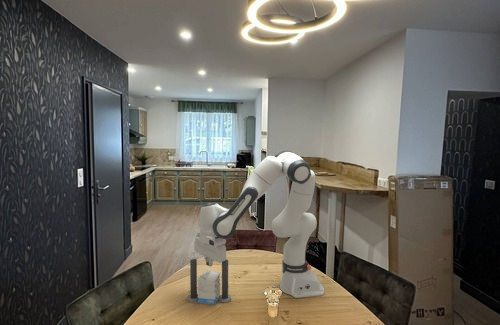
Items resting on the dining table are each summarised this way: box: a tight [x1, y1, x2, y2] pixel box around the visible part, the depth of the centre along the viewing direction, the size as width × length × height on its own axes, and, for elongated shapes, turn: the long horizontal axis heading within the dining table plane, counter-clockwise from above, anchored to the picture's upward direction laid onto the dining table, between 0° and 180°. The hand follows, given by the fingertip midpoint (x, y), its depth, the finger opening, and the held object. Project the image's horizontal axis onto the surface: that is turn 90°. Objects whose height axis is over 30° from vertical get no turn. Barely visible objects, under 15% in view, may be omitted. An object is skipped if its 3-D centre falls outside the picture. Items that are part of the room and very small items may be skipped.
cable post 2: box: [218, 258, 232, 304], centre depth 130 cm, size 6×6×19 cm
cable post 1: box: [186, 258, 198, 304], centre depth 130 cm, size 6×6×19 cm
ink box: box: [197, 268, 221, 306], centre depth 130 cm, size 9×8×13 cm
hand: (209, 265), depth 129 cm, fingers closed
